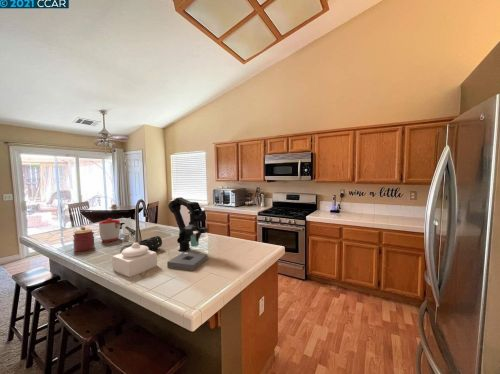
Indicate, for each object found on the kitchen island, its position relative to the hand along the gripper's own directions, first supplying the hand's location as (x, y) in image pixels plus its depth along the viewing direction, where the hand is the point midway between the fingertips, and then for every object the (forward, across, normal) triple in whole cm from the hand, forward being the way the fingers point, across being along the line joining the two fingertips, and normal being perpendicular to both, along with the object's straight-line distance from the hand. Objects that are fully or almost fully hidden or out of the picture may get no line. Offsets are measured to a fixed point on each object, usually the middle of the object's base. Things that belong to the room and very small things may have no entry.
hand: (194, 241), depth 156 cm
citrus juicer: (+9, -90, +10) cm, 91 cm away
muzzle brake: (+9, -36, -11) cm, 39 cm away
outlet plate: (+9, +5, -16) cm, 19 cm away
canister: (+9, -89, -14) cm, 91 cm away
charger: (+3, 0, 0) cm, 3 cm away
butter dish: (+9, -23, -31) cm, 40 cm away
